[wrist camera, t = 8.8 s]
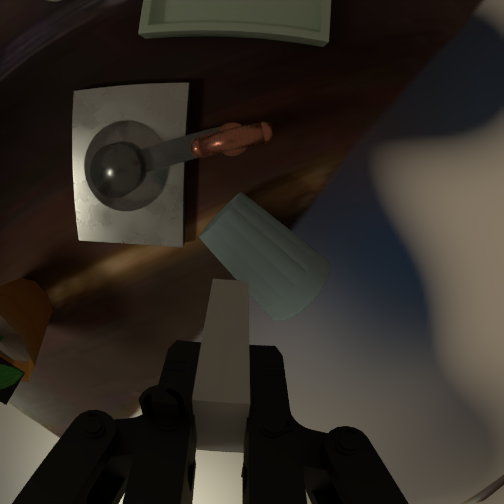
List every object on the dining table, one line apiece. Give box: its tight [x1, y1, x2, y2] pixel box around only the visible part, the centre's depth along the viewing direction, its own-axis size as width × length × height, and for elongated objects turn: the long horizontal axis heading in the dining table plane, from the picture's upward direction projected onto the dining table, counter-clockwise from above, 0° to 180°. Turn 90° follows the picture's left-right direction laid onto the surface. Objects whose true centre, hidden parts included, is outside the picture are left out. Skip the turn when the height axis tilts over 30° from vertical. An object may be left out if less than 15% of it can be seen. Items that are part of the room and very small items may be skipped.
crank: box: [90, 121, 275, 198], centre depth 24 cm, size 16×5×7 cm, turn 102°
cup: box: [199, 193, 330, 321], centre depth 29 cm, size 8×8×10 cm
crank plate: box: [72, 83, 191, 247], centre depth 28 cm, size 12×16×1 cm
